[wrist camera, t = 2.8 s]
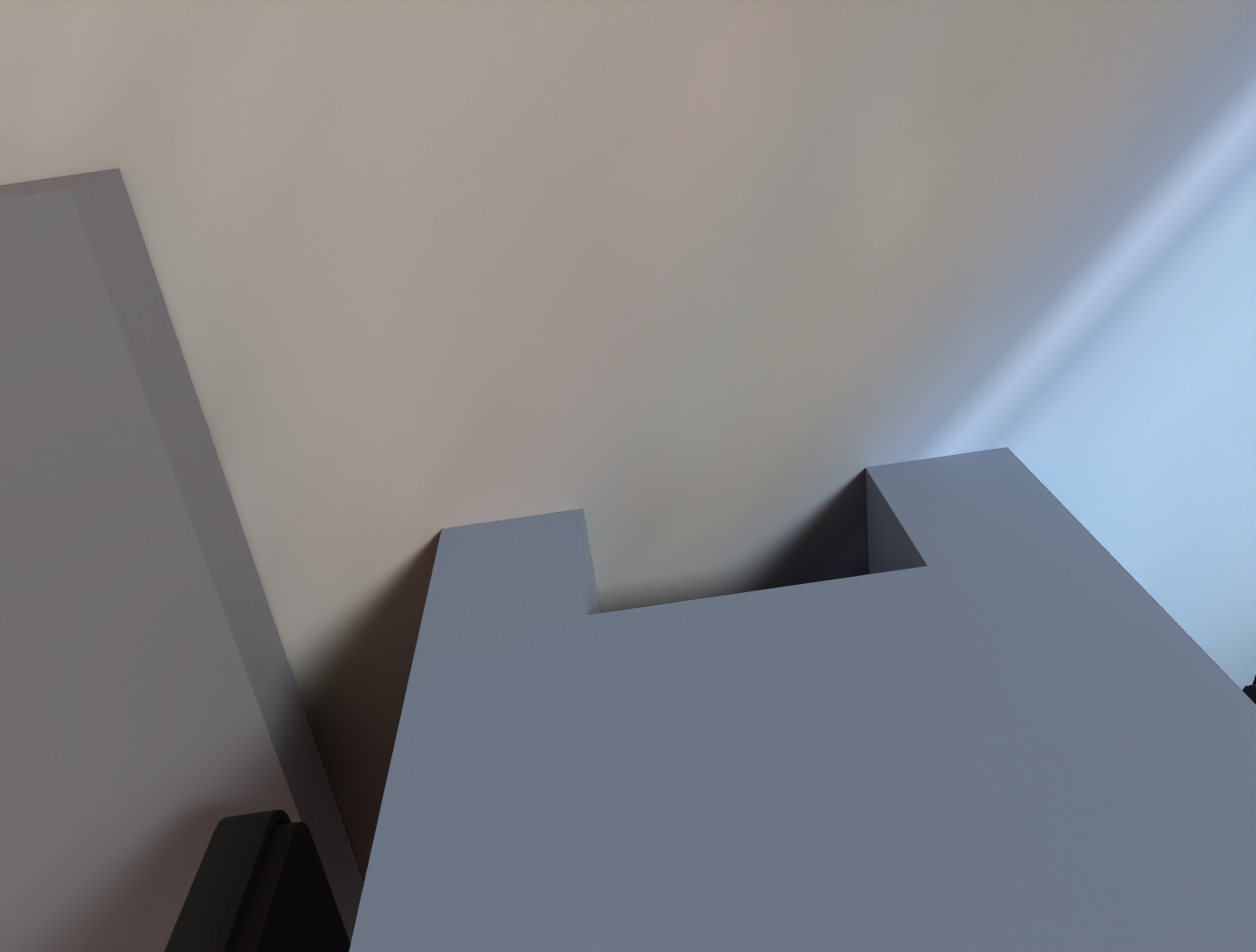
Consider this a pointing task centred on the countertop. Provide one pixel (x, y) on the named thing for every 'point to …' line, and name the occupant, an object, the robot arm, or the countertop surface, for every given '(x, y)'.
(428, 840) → the block
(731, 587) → the countertop surface
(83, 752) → the rail plate
